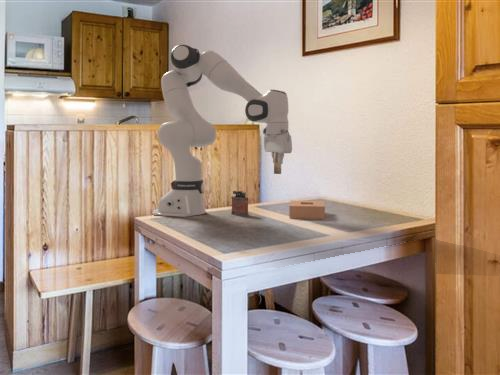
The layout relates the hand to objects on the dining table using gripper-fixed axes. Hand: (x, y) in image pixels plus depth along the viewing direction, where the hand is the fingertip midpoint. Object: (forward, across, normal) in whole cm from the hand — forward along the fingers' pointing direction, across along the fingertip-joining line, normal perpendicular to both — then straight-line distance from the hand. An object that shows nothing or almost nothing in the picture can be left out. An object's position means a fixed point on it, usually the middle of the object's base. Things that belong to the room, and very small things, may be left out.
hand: (277, 163), depth 184 cm
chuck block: (+22, -6, -11) cm, 25 cm away
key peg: (+4, 0, 0) cm, 4 cm away
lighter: (+22, +6, +15) cm, 27 cm away
